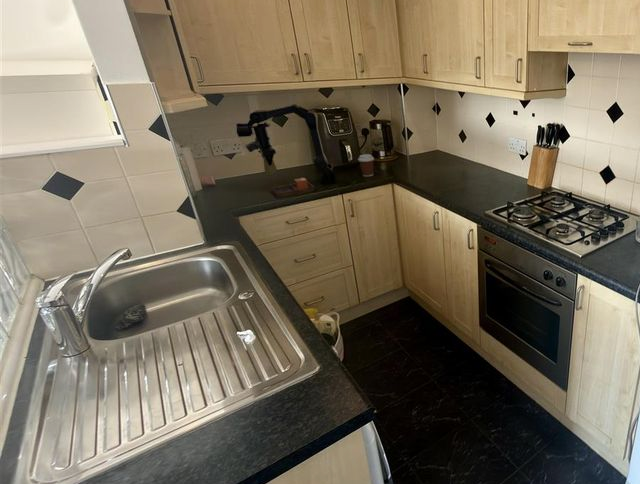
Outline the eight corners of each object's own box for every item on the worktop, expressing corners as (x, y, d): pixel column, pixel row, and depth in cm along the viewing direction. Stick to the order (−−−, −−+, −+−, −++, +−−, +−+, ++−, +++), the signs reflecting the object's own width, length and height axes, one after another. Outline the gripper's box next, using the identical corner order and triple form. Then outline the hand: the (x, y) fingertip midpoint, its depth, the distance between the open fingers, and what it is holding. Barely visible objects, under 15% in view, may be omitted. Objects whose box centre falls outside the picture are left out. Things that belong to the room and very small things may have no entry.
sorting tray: (308, 185, 227) (307, 181, 226) (314, 190, 219) (314, 186, 218) (272, 191, 216) (271, 187, 215) (278, 198, 208) (277, 193, 207)
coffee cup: (357, 176, 244) (354, 156, 239) (367, 172, 252) (364, 153, 247) (369, 177, 241) (366, 158, 236) (379, 173, 249) (376, 154, 244)
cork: (271, 173, 217) (266, 153, 213) (262, 172, 219) (256, 152, 214) (279, 169, 223) (275, 150, 218) (270, 169, 224) (265, 149, 219)
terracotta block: (305, 186, 223) (303, 177, 221) (308, 188, 220) (306, 179, 218) (295, 188, 220) (293, 179, 218) (298, 190, 217) (296, 181, 215)
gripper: (241, 134, 214) (248, 163, 221) (247, 141, 201) (255, 171, 208) (264, 132, 221) (271, 159, 227) (272, 137, 208) (279, 167, 214)
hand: (269, 164), depth 219 cm, fingers closed on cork, 4 cm apart
